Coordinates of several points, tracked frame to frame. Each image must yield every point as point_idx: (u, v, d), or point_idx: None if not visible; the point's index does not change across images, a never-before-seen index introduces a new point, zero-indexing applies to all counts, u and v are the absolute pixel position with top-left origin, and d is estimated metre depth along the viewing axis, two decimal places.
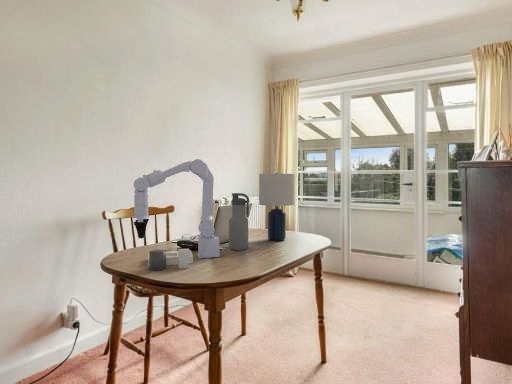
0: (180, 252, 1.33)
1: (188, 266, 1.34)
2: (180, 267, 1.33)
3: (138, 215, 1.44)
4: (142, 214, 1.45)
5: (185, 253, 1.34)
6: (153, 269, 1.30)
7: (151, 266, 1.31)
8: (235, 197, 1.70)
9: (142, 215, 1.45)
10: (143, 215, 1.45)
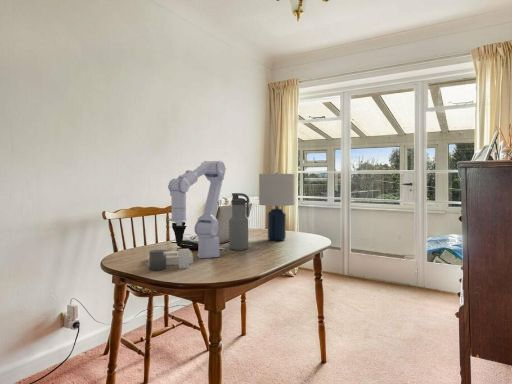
0: (180, 252, 1.33)
1: (188, 266, 1.34)
2: (180, 267, 1.33)
3: (176, 218, 1.35)
4: (180, 218, 1.36)
5: (185, 253, 1.34)
6: (153, 269, 1.30)
7: (151, 266, 1.31)
8: (235, 197, 1.70)
9: (180, 218, 1.36)
10: (181, 218, 1.36)
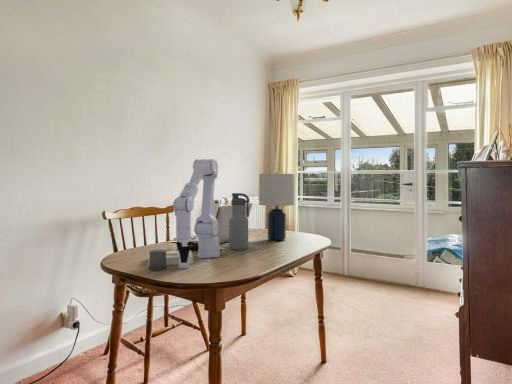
0: None
1: (188, 266, 1.34)
2: (180, 267, 1.33)
3: (181, 238, 1.33)
4: (185, 237, 1.33)
5: None
6: (153, 269, 1.30)
7: (151, 266, 1.31)
8: (235, 197, 1.70)
9: (185, 238, 1.33)
10: (186, 238, 1.33)
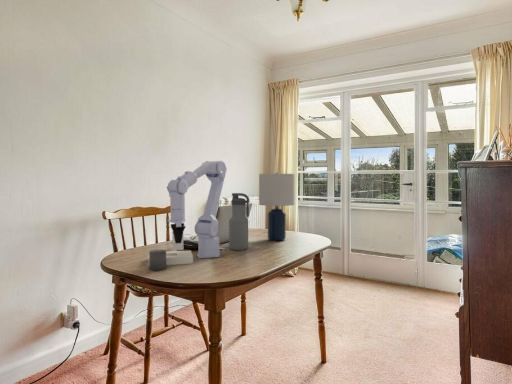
0: None
1: (182, 247, 1.38)
2: (174, 248, 1.37)
3: (175, 219, 1.36)
4: (179, 218, 1.37)
5: None
6: (153, 269, 1.30)
7: (151, 266, 1.31)
8: (235, 197, 1.70)
9: (179, 219, 1.37)
10: (180, 219, 1.37)
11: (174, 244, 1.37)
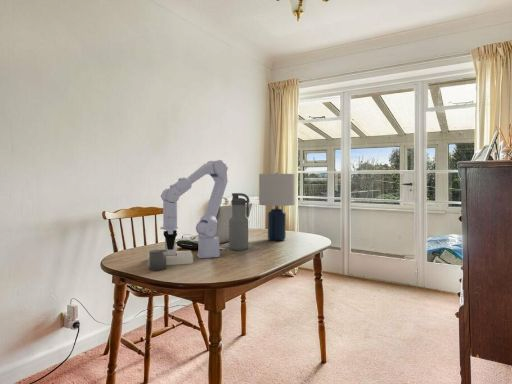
0: None
1: (174, 254, 1.43)
2: (167, 255, 1.43)
3: (167, 227, 1.42)
4: (172, 226, 1.42)
5: None
6: (153, 269, 1.30)
7: (151, 266, 1.31)
8: (235, 197, 1.70)
9: (171, 227, 1.42)
10: (172, 227, 1.42)
11: (166, 251, 1.43)
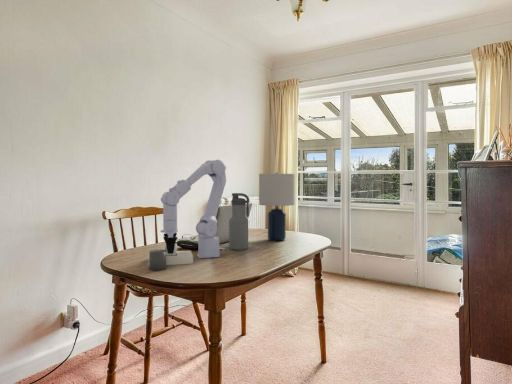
0: None
1: None
2: None
3: (167, 230, 1.42)
4: (172, 229, 1.42)
5: None
6: (153, 269, 1.30)
7: (151, 266, 1.31)
8: (235, 197, 1.70)
9: (171, 230, 1.42)
10: (172, 230, 1.42)
11: None
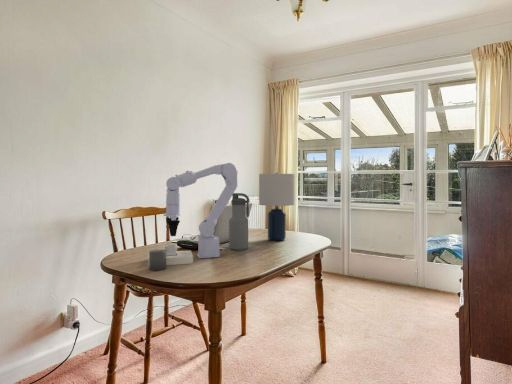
0: (167, 247, 1.43)
1: None
2: None
3: (170, 213, 1.48)
4: (174, 213, 1.49)
5: (171, 248, 1.43)
6: (153, 269, 1.30)
7: (151, 266, 1.31)
8: (235, 197, 1.70)
9: (174, 213, 1.48)
10: (175, 213, 1.49)
11: None
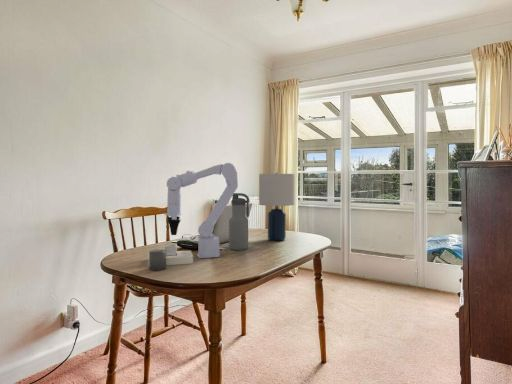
0: (167, 247, 1.43)
1: None
2: None
3: (171, 213, 1.51)
4: (175, 212, 1.51)
5: (171, 248, 1.43)
6: (153, 269, 1.30)
7: (151, 266, 1.31)
8: (235, 197, 1.70)
9: (175, 213, 1.51)
10: (176, 213, 1.51)
11: None
